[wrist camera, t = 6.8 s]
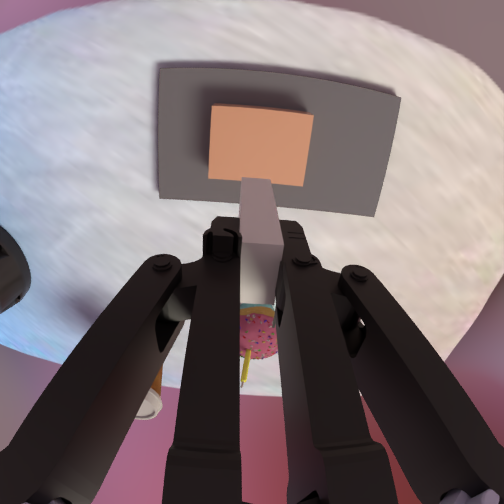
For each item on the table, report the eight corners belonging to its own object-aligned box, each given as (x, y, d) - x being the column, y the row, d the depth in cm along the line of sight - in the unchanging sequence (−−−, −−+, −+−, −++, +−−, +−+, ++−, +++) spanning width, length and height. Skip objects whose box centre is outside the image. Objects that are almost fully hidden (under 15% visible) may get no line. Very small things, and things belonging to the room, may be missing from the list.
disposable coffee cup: (180, 362, 50) (168, 423, 40) (129, 360, 50) (113, 417, 40) (165, 324, 44) (148, 391, 34) (110, 323, 45) (86, 384, 35)
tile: (299, 177, 31) (211, 170, 31) (309, 111, 27) (215, 102, 27) (302, 186, 29) (208, 178, 29) (313, 115, 25) (211, 105, 25)
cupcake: (247, 337, 46) (246, 406, 36) (212, 303, 42) (202, 375, 32) (297, 314, 43) (308, 386, 33) (265, 275, 39) (269, 349, 29)
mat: (161, 195, 33) (159, 198, 32) (162, 68, 26) (159, 68, 25) (371, 213, 34) (373, 217, 34) (397, 96, 27) (401, 97, 26)
